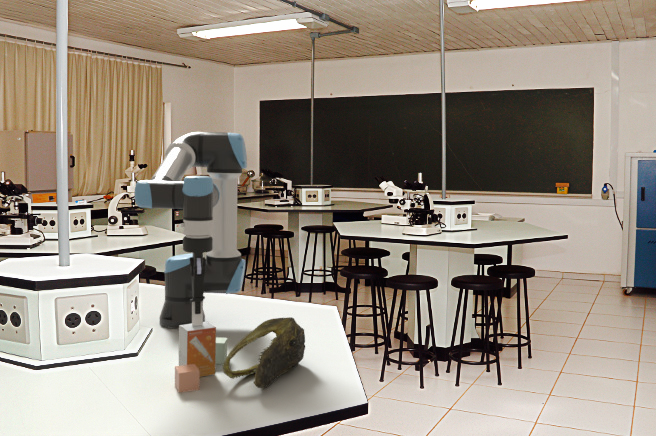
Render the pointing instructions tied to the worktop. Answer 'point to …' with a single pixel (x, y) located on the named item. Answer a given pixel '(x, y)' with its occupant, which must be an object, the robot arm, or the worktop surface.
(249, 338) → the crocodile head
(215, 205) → the robot arm
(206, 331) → the small box
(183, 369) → the terracotta cube
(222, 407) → the worktop surface
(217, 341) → the sage block
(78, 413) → the worktop surface
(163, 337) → the worktop surface
